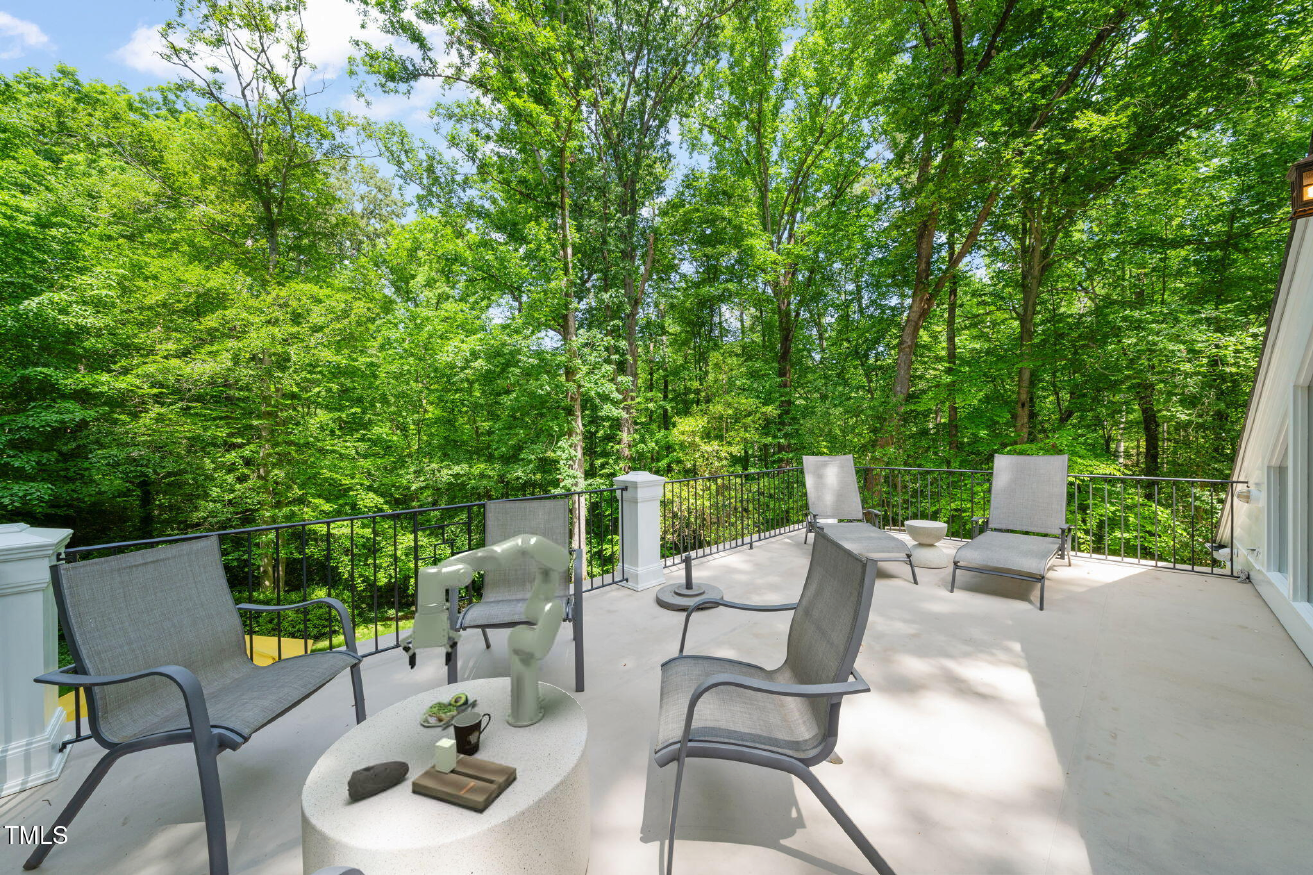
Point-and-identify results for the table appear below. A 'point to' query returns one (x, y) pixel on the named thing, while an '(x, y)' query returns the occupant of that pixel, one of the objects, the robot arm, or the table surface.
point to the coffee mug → (468, 732)
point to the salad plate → (447, 710)
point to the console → (466, 783)
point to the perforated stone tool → (376, 778)
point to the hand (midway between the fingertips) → (430, 665)
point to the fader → (445, 755)
